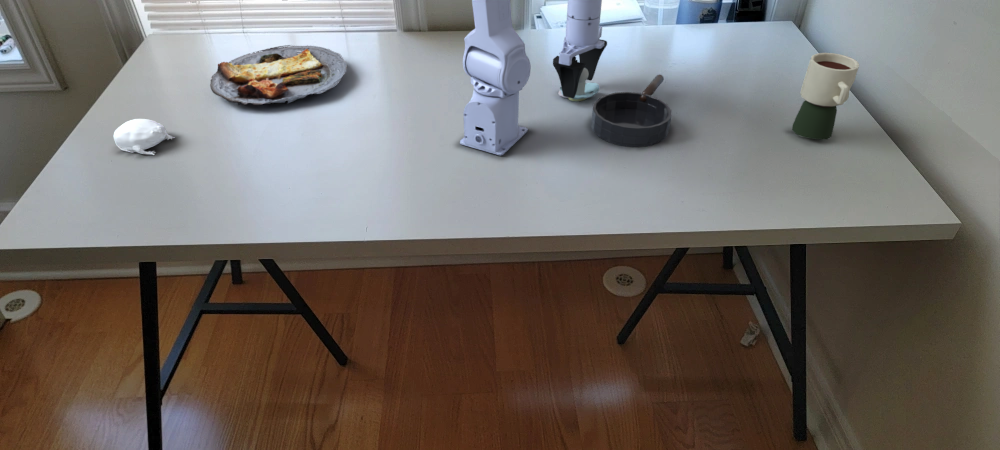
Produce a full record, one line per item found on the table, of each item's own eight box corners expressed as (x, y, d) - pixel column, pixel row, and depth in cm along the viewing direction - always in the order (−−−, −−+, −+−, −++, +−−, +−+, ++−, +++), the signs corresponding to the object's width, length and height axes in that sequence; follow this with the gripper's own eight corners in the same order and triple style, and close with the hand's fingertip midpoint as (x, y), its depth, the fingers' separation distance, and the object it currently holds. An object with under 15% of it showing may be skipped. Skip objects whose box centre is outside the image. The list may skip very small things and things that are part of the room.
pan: (654, 154, 104) (657, 135, 102) (579, 135, 109) (580, 116, 107) (677, 120, 113) (681, 102, 111) (607, 103, 118) (609, 85, 116)
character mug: (846, 150, 105) (875, 75, 97) (803, 151, 105) (828, 76, 97) (816, 118, 114) (840, 47, 106) (777, 119, 114) (797, 48, 106)
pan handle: (646, 104, 114) (647, 96, 113) (637, 102, 114) (638, 94, 113) (664, 82, 121) (665, 74, 120) (655, 80, 121) (657, 72, 120)
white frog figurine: (179, 136, 108) (172, 116, 106) (154, 157, 103) (146, 136, 101) (137, 131, 110) (129, 111, 107) (110, 151, 104) (101, 131, 102)
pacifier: (552, 93, 122) (564, 106, 117) (553, 61, 118) (565, 73, 114) (588, 87, 124) (601, 100, 119) (590, 56, 120) (604, 68, 115)
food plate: (218, 122, 112) (213, 103, 110) (207, 70, 129) (202, 53, 127) (360, 95, 120) (358, 77, 118) (332, 49, 137) (330, 33, 135)
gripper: (589, 32, 105) (582, 108, 113) (620, 5, 115) (612, 76, 123) (549, 25, 107) (545, 99, 116) (583, -2, 117) (578, 69, 126)
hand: (578, 87), depth 119 cm, fingers open, 7 cm apart
